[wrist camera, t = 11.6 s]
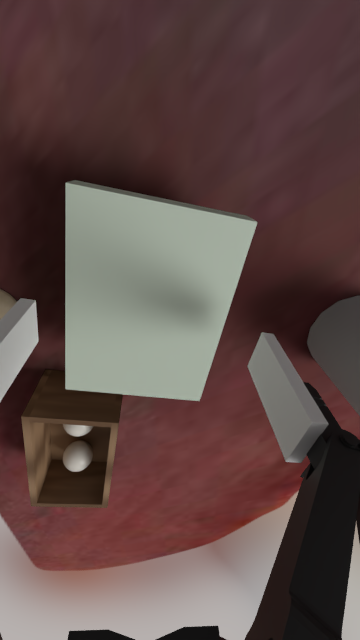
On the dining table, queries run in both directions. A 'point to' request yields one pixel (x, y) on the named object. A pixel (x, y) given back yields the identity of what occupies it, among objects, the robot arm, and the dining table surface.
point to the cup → (339, 347)
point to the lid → (146, 290)
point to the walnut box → (51, 441)
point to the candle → (5, 302)
